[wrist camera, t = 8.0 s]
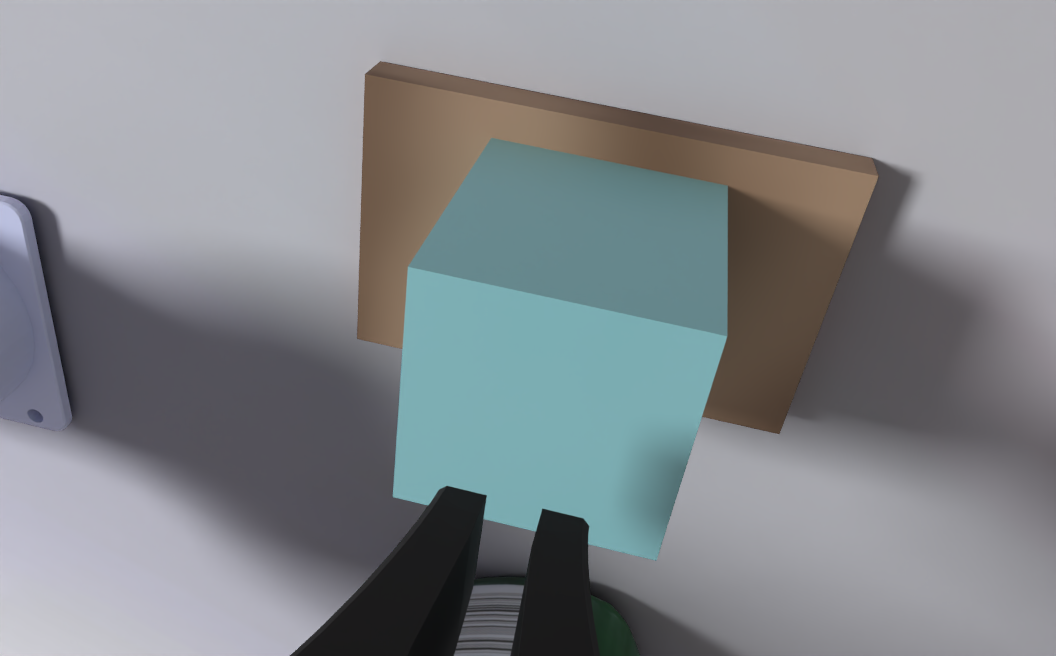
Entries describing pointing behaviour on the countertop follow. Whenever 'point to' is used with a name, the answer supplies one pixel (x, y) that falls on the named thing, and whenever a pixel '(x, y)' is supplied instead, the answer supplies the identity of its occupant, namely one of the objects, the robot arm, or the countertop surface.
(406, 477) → the teal matte cube
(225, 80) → the countertop surface
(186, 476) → the countertop surface
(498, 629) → the coffee jar
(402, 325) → the brown rectangular board
